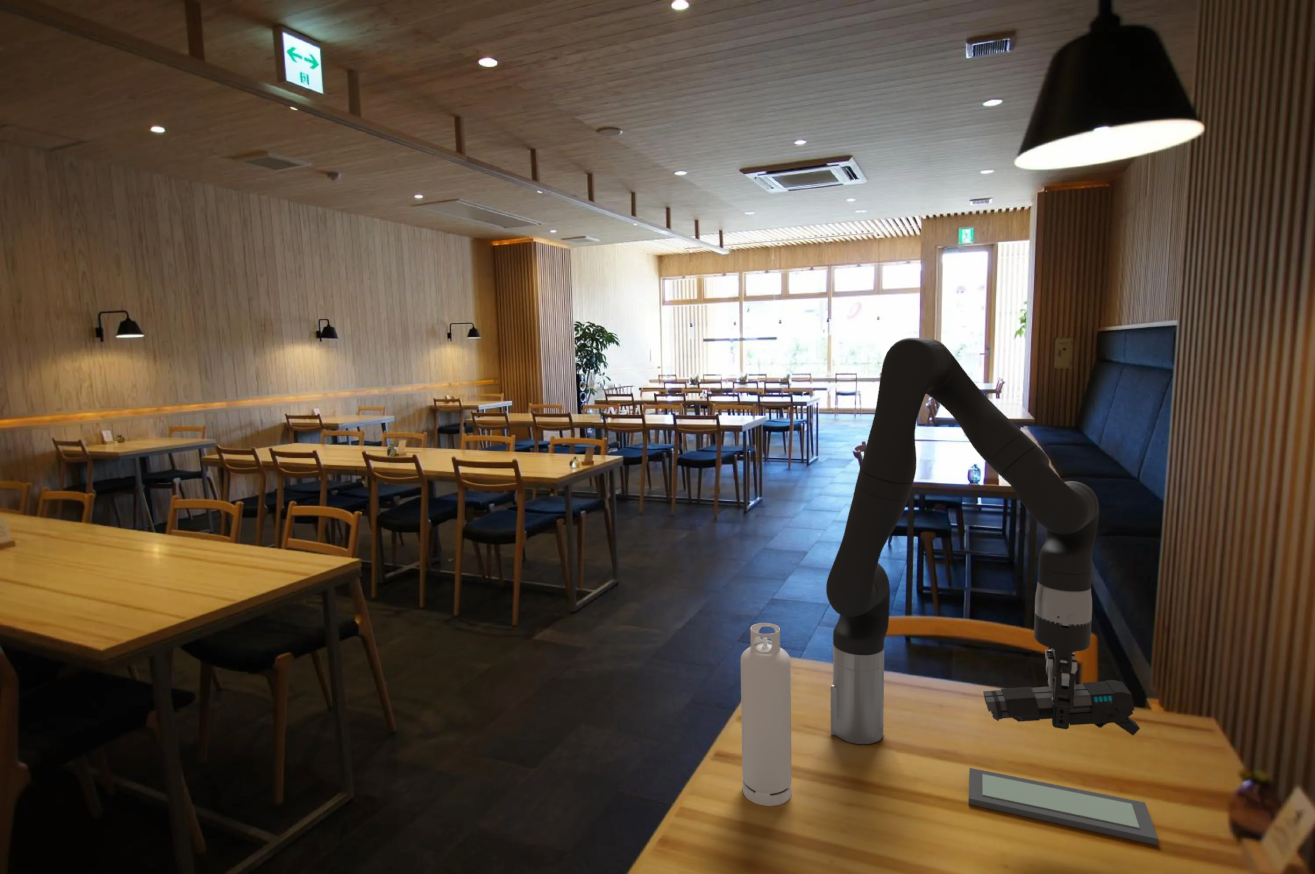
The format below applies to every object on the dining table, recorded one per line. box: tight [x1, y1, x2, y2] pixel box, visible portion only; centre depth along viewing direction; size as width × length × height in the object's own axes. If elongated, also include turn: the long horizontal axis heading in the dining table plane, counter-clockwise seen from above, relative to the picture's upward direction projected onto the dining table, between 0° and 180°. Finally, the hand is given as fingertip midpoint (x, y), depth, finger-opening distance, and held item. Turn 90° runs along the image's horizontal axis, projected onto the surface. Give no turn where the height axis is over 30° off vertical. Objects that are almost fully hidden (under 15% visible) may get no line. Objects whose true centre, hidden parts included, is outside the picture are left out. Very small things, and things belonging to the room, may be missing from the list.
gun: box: [982, 679, 1141, 736], centre depth 109 cm, size 4×20×10 cm, turn 74°
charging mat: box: [968, 767, 1159, 846], centre depth 111 cm, size 25×9×1 cm, turn 65°
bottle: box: [740, 622, 793, 807], centre depth 116 cm, size 8×8×28 cm
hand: (1058, 718), depth 110 cm, fingers closed on gun, 4 cm apart
